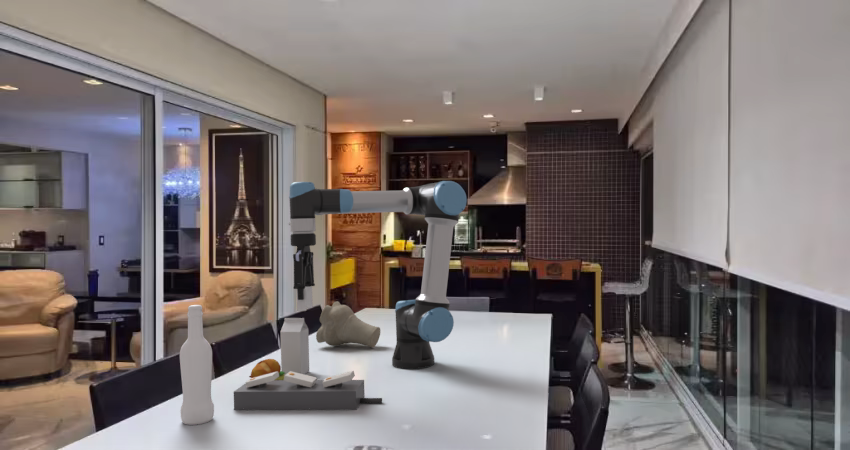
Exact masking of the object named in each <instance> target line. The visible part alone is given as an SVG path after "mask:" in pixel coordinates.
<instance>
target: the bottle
mask: <svg viewBox="0 0 850 450" xmlns="http://www.w3.org/2000/svg"><path fill="white" fill-rule="evenodd" d="M203 315H204V312H203V306H202V304H193V305H189V306H188V307H187V315H186V316H187V339H186V340H185V342H183V344H182V346H181V347H180V351H179V363H180V365H179V366H180V376H181V378H180V379H181V386H182V403H181V407H180V419H181V422H182V423H183V424H184V425H188V426H195V425H197V424H198V425H202V424H206V423H208V422H210V421H212V420H213V418H214V416H215V415H214V413H215V405H214V402H213V400H212V376H213V375H212V372H213V371H212V370H213V367H212V366H213V349H212V346H211V344H210V343H209V341H208V340H207V339H206V338H205V337H204V325H203V324H204V323H203Z"/></svg>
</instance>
